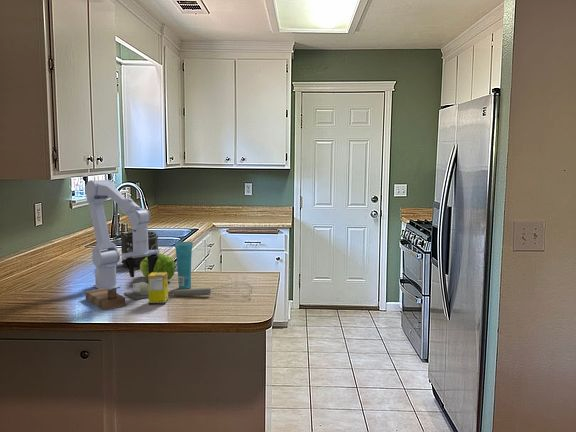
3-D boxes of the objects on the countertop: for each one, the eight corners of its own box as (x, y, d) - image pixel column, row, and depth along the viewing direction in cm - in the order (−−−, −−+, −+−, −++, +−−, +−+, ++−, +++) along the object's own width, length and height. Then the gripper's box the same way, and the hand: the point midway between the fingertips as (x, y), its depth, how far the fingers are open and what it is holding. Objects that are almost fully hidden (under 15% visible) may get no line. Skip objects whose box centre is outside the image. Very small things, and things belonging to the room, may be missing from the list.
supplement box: (168, 300, 196) (167, 271, 195) (165, 304, 190) (164, 275, 189) (152, 300, 196) (151, 271, 194) (148, 304, 190) (147, 275, 189)
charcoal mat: (124, 294, 204) (124, 292, 204) (148, 289, 211) (148, 288, 211) (136, 300, 196) (136, 298, 196) (160, 295, 203) (160, 293, 202)
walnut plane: (85, 299, 197) (85, 283, 197) (106, 295, 203) (106, 280, 202) (103, 309, 184) (103, 293, 183) (125, 305, 189) (125, 289, 188)
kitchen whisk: (170, 294, 205) (170, 279, 204) (253, 296, 203) (253, 280, 202) (166, 298, 199) (165, 282, 198) (251, 300, 197) (251, 284, 196)
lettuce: (163, 260, 242) (138, 247, 235) (185, 262, 225) (158, 248, 217) (151, 285, 238) (125, 273, 231) (172, 290, 221) (144, 276, 213)
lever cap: (133, 292, 205) (132, 283, 204) (143, 290, 208) (143, 281, 207) (140, 296, 199) (140, 287, 199) (151, 294, 202) (151, 285, 202)
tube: (194, 286, 217) (193, 240, 214) (192, 289, 212) (191, 242, 209) (176, 286, 217) (175, 240, 214) (174, 289, 212) (173, 242, 210)
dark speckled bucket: (156, 260, 271) (155, 230, 269) (161, 266, 254) (160, 234, 252) (120, 262, 265) (119, 231, 263) (122, 269, 248) (121, 237, 246)
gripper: (126, 244, 193) (127, 280, 195) (162, 240, 203) (163, 274, 204) (119, 241, 199) (120, 276, 200) (154, 237, 208) (155, 271, 210)
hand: (141, 275), depth 203 cm, fingers open, 7 cm apart
